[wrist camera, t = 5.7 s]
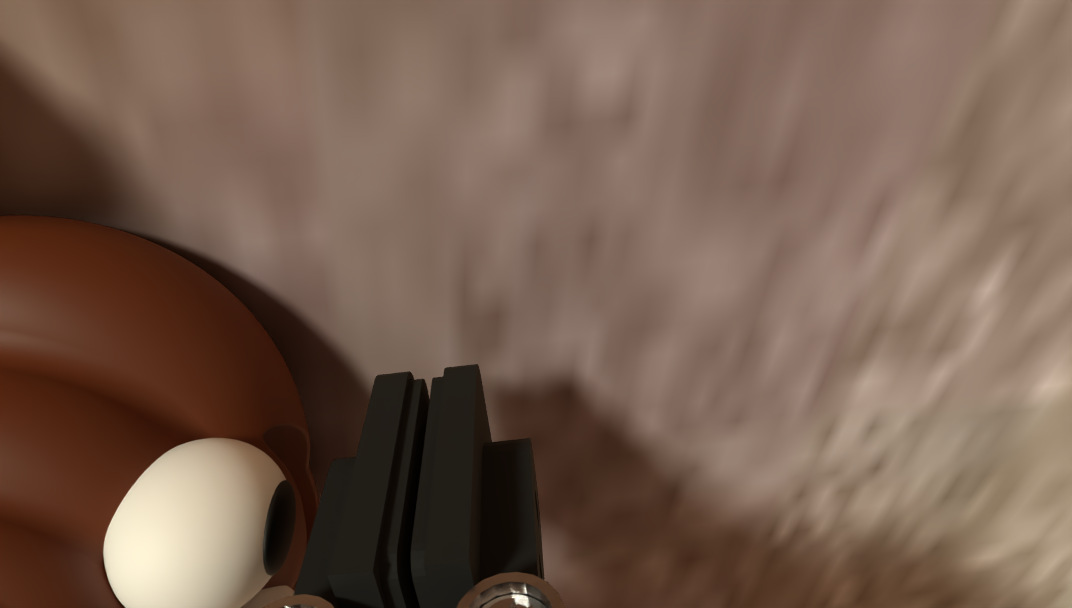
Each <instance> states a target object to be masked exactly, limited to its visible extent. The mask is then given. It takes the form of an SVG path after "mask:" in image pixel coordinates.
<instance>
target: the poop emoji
mask: <svg viewBox="0 0 1072 608" xmlns="http://www.w3.org/2000/svg"><path fill="white" fill-rule="evenodd" d="M309 460H310V437H309V431H308V426H307V422H306V417H305V413H304V409H303V406H302V402H301V399H300V397H299V394H298V391H297V388H296V386H295V383H294V380H293V378H292V376H291V374H290V371H289V369H288V367H287V365H286V363H285V361H284V359H283V357H282V356H281V354H280V352H279V351H278V349H277V347H276V345H275V344H274V342H273V341H272V339H271V338H270V336H269V335H268V333H267V332H266V331H265V329H264V328H263V327H262V325H261V324H260V323H259V321H258V320H257V319H256V318H255V317H254V315H253V314H252V313H251V312H250V311H249V310H248V309H247V308H246V307H245V306H244V304H243V303H242V302H241V301H240V300H239V299H238V298H237V297H236V296H235V295H233V294H232V293H231V292H230V291H229V290H228V289H227V288H226V287H224V286H223V285H222V284H221V283H220V282H218V281H217V280H216V279H215V278H213V277H212V276H210V275H209V274H208V273H206V272H205V271H204V270H202V269H200V268H199V267H197V266H196V265H194V264H193V263H191V262H190V261H188V260H186V259H185V258H183V257H181V256H179V255H177V254H175V253H174V252H172V251H170V250H168V249H166V248H164V247H162V246H160V245H157V244H155V243H153V242H150V241H148V240H146V239H143V238H141V237H138V236H135V235H133V234H130V233H127V232H124V231H121V230H117V229H114V228H111V227H107V226H103V225H99V224H95V223H90V222H85V221H80V220H74V219H68V218H60V217H49V216H34V215H10V216H0V608H262V607H264V606H266V605H267V604H269V603H271V602H273V601H276V600H279V599H281V598H284V597H287V596H293V595H294V591H295V588H296V584H297V581H298V577H299V574H300V570H301V566H302V563H303V559H304V556H305V552H306V549H307V545H308V542H309V538H310V535H311V531H312V528H313V524H314V521H315V517H316V514H317V510H318V507H319V497H318V492H317V488H316V484H315V481H314V478H313V475H312V473H311V471H310V468H309Z"/></svg>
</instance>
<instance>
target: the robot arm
mask: <svg viewBox="0 0 1072 608" xmlns="http://www.w3.org/2000/svg"><path fill="white" fill-rule="evenodd" d="M262 608H565V606H564V604H563V601H562V599H561V597H560V595H559V593H558V592H557V591H556V590H555V589H554V588H553V587H552V586H551V585H550V584H549V583H548V582H547V581H545V580H544V568H543V553H542V539H541V525H540V512H539V501H538V491H537V482H536V474H535V466H534V459H533V451H532V444H531V439H530V438H527V439H518V440H509V441H499V442H492V440H491V434H490V428H489V422H488V416H487V410H486V404H485V398H484V392H483V386H482V381H481V375H480V370H479V366H478V364H475V365H466V366H457V367H447V368H445V369H444V376H443V377H436V378H433V380H432V386H431V394H430V399H429V395H428V390H427V386H426V382H425V380H424V379H417V380H414V378H413V375H412V373H411V372H401V373H392V374H383V375H377V376H376V378H375V381H374V385H373V389H372V394H371V398H370V402H369V406H368V410H367V414H366V418H365V422H364V427H363V431H362V435H361V439H360V443H359V447H358V451H357V455H356V457H351V458H341V459H335V460H334V461H333V462H332V463H331V466H330V468H329V471H328V475H327V478H326V482H325V485H324V489H323V492H322V496H321V499H320V503H319V507H318V510H317V514H316V517H315V521H314V524H313V528H312V531H311V535H310V538H309V542H308V545H307V549H306V552H305V556H304V559H303V563H302V566H301V570H300V574H299V577H298V581H297V584H296V588H295V591H294V595H293V596H287V597H284V598H281V599H279V600H276V601H273V602H271V603H269V604H267V605H266V606H264V607H262Z"/></svg>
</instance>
